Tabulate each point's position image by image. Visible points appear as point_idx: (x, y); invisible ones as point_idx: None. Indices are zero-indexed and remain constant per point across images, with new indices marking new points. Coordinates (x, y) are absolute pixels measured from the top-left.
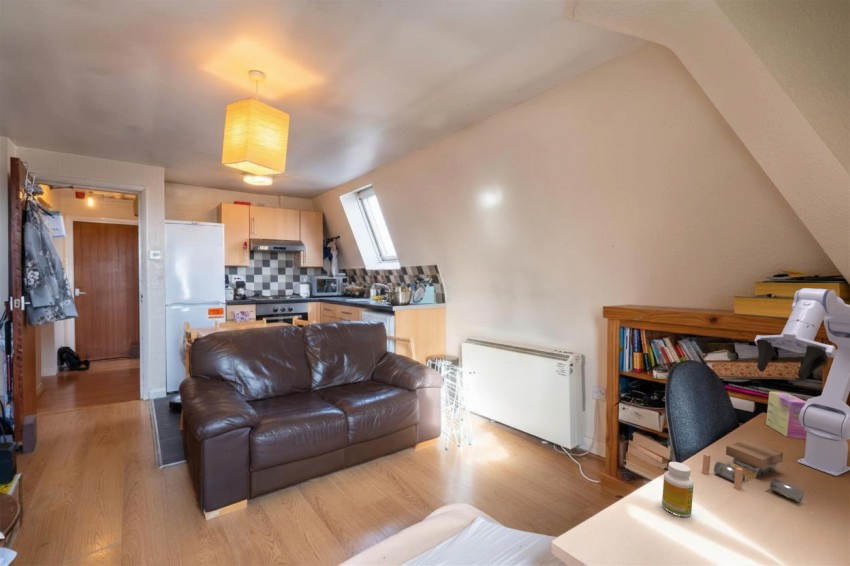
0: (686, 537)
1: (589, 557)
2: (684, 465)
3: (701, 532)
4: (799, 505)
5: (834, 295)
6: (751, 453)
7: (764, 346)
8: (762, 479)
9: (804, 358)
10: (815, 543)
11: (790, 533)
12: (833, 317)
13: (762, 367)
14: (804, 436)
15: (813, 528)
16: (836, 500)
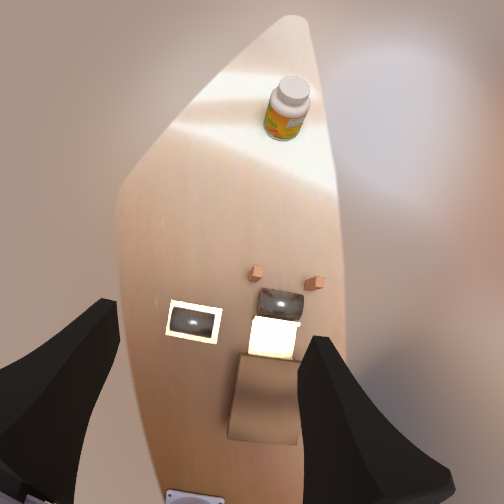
0: (247, 86)
1: (283, 17)
2: (292, 94)
3: (240, 105)
4: (171, 305)
5: None
6: (266, 370)
7: (375, 456)
8: None
9: (56, 374)
10: (139, 200)
11: (165, 197)
12: None
13: (307, 363)
14: None
15: (145, 243)
16: (141, 389)
